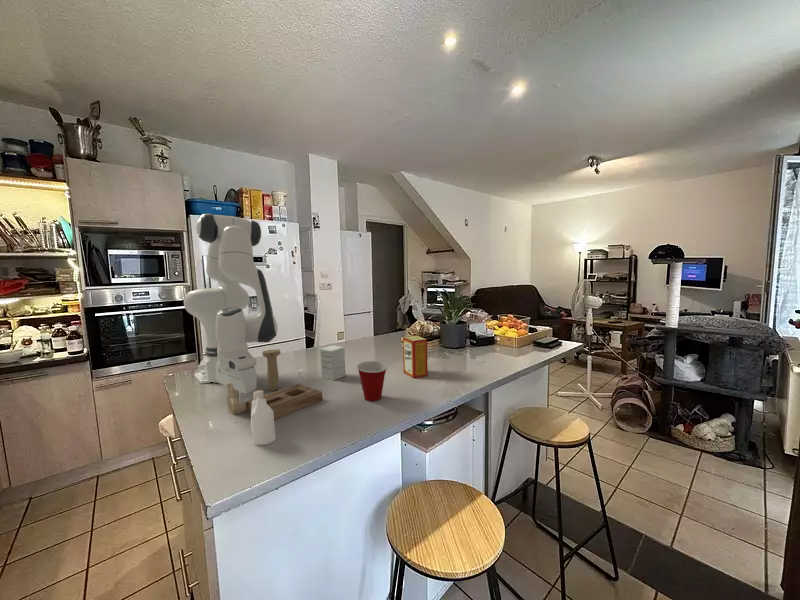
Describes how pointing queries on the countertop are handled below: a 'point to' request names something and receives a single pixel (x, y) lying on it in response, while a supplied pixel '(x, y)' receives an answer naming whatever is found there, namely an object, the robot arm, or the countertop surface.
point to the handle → (272, 368)
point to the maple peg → (234, 400)
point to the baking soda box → (415, 356)
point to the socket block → (289, 399)
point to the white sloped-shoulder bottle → (262, 423)
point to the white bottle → (256, 395)
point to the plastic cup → (372, 379)
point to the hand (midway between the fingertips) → (236, 400)
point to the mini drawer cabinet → (332, 362)
